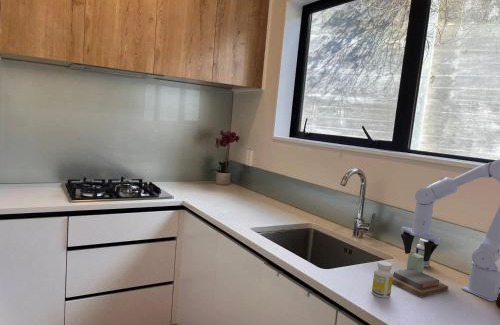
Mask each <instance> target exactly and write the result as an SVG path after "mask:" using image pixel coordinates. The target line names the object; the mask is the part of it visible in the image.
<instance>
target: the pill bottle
mask: <svg viewBox="0 0 500 325" xmlns="http://www.w3.org/2000/svg"><path fill="white" fill-rule="evenodd" d="M418 242H419V243H417V245H416V247H415V248H416V249H415V253H416V254H419V255H422V256H424V242H428V241H427V240H424V239H421V238H419V240H418ZM431 259H432V256H431V257H430V259H429V261H426V262H425V263H424V268H425V267H430V264H431Z"/></svg>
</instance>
